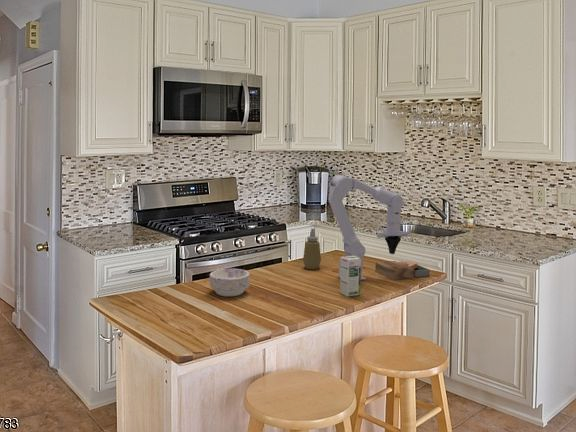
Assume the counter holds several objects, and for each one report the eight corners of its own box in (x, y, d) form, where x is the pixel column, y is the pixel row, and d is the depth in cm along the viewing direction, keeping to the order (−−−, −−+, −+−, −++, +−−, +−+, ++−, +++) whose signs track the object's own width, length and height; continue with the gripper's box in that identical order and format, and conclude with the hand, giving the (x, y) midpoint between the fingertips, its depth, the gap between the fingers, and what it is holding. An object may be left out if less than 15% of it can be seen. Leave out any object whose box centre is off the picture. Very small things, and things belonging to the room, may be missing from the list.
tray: (414, 277, 244) (414, 271, 243) (395, 269, 258) (395, 262, 257) (429, 276, 246) (429, 269, 246) (409, 268, 260) (410, 261, 260)
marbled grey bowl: (204, 297, 213) (204, 277, 211) (216, 286, 227) (216, 267, 226) (244, 300, 210) (244, 279, 209) (253, 288, 225) (253, 269, 224)
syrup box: (347, 297, 216) (348, 259, 213) (339, 292, 221) (340, 256, 219) (360, 295, 218) (361, 258, 216) (352, 291, 223) (353, 254, 221)
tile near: (398, 268, 243) (398, 264, 242) (392, 266, 247) (392, 262, 247) (408, 267, 244) (408, 263, 244) (402, 265, 249) (402, 261, 249)
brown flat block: (393, 280, 240) (393, 270, 239) (375, 271, 254) (375, 262, 253) (413, 277, 244) (414, 268, 243) (394, 269, 257) (395, 260, 257)
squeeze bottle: (324, 267, 259) (325, 228, 256) (315, 271, 252) (316, 231, 250) (308, 265, 263) (309, 226, 261) (299, 268, 257) (300, 229, 254)
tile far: (416, 263, 253) (417, 266, 254) (410, 260, 258) (411, 264, 258) (407, 267, 252) (408, 271, 252) (401, 265, 256) (402, 268, 257)
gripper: (383, 224, 237) (382, 256, 239) (413, 223, 242) (411, 254, 244) (374, 221, 243) (373, 253, 245) (404, 220, 249) (402, 251, 251)
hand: (391, 253), depth 245 cm, fingers closed
